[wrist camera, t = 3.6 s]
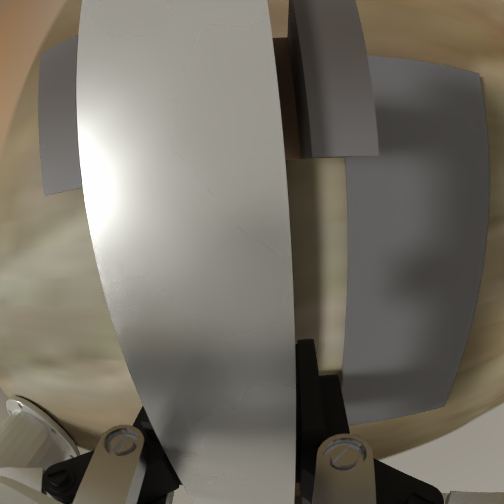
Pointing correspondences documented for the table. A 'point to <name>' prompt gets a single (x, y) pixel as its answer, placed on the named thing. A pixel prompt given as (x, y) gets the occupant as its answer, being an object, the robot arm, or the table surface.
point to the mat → (414, 239)
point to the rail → (195, 232)
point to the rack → (289, 86)
